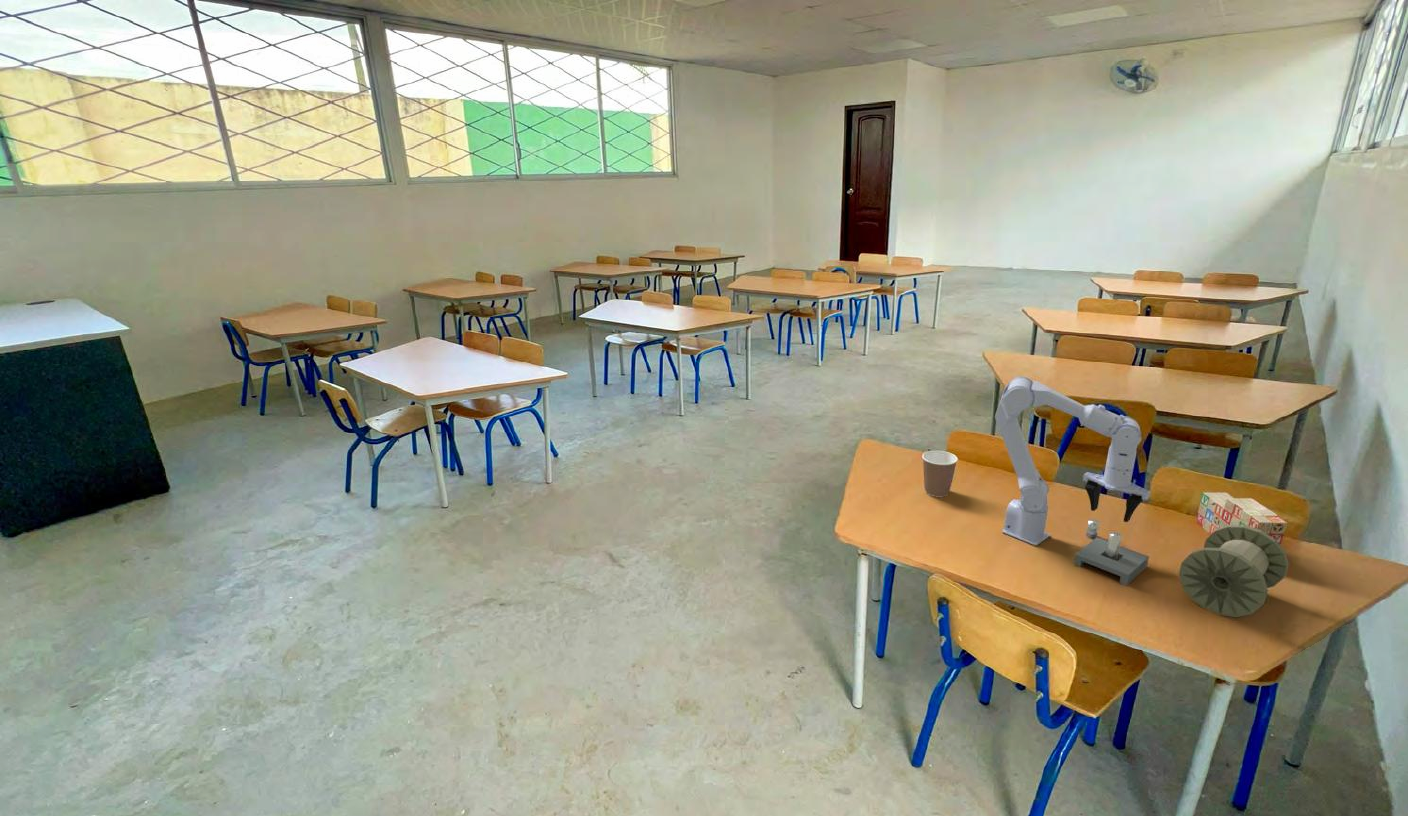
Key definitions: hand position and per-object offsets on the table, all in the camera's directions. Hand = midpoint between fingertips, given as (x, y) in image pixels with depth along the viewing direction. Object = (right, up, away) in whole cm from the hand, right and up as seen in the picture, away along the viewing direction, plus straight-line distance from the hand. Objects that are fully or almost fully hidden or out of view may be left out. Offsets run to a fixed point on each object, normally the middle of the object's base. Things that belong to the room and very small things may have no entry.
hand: (1110, 514), depth 163 cm
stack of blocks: (+35, -8, +5) cm, 36 cm away
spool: (+16, -16, -16) cm, 28 cm away
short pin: (+1, -7, +10) cm, 13 cm away
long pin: (-2, -12, -3) cm, 13 cm away
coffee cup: (-31, +1, +37) cm, 48 cm away
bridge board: (-2, -12, -3) cm, 13 cm away
